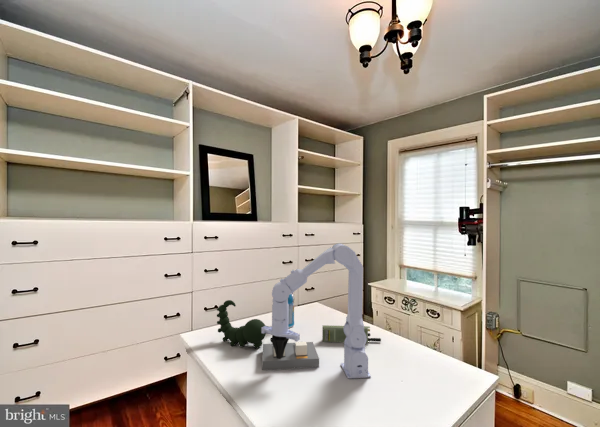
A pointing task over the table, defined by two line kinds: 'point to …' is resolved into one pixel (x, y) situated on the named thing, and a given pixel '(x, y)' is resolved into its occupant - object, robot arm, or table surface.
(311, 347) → the switch panel
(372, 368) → the table surface
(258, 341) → the toy figurine
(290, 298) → the beverage bottle
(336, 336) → the handheld radio
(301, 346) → the tab
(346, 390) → the table surface
